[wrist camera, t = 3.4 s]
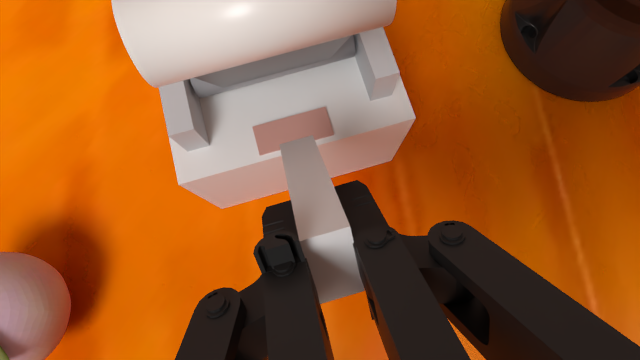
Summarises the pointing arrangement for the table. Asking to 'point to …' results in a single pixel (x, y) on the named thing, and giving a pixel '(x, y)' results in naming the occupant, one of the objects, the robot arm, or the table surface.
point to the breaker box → (288, 124)
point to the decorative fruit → (31, 307)
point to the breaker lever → (241, 37)
